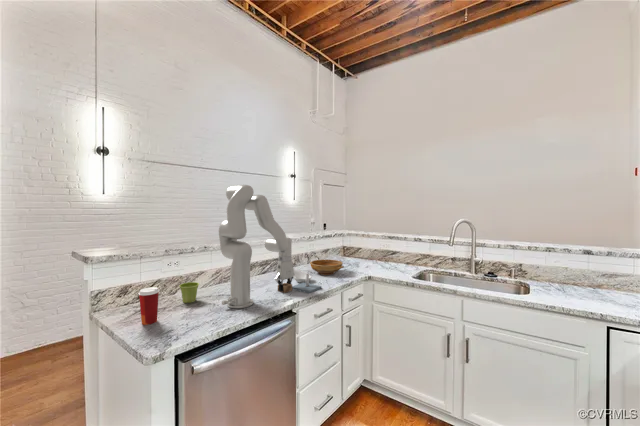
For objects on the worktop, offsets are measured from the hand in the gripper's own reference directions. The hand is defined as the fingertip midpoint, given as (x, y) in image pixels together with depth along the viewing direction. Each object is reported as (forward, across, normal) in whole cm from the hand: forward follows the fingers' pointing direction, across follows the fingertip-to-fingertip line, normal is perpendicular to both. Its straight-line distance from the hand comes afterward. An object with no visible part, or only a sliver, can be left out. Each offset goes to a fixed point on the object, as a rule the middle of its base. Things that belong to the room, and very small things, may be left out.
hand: (285, 289), depth 164 cm
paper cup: (+1, -67, +15) cm, 69 cm away
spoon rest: (+1, +23, +11) cm, 26 cm away
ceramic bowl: (+1, +50, +6) cm, 50 cm away
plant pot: (+1, -43, +27) cm, 51 cm away
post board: (+1, +11, -7) cm, 13 cm away
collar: (+1, 0, 0) cm, 1 cm away
